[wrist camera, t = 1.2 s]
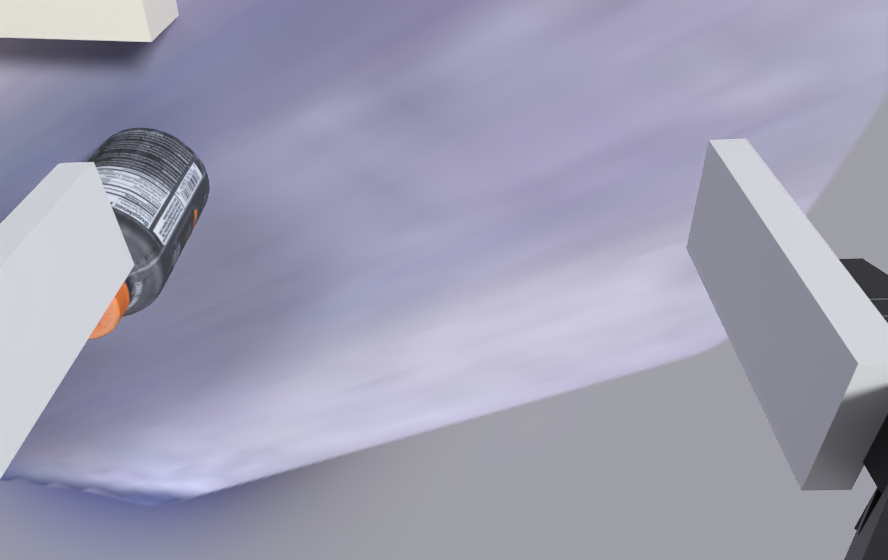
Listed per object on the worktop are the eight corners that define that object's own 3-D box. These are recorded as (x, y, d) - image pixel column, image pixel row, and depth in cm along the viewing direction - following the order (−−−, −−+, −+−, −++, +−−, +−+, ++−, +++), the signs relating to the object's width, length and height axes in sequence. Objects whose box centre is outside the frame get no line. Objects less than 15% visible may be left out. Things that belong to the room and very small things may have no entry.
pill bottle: (160, 237, 40) (79, 377, 31) (76, 161, 37) (-42, 292, 28) (234, 187, 38) (170, 322, 29) (151, 103, 35) (51, 224, 26)
